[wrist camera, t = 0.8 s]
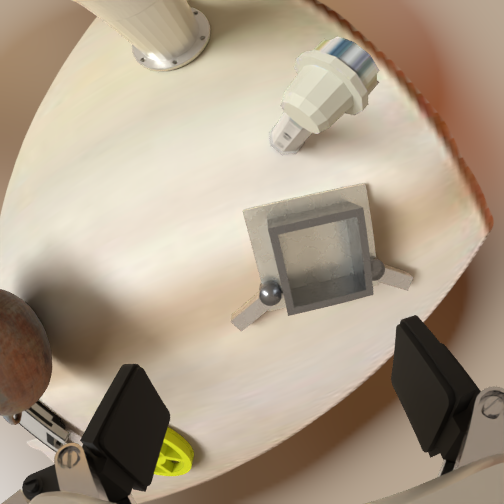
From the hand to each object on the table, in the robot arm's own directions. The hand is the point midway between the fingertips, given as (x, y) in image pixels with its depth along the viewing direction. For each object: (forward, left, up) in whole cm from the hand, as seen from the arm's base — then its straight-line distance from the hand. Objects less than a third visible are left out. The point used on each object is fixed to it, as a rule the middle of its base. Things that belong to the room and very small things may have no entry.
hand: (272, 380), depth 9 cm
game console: (+43, -91, -33) cm, 106 cm away
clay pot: (+9, -56, -32) cm, 65 cm away
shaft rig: (+6, +6, -32) cm, 33 cm away
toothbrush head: (-11, +6, -32) cm, 35 cm away
